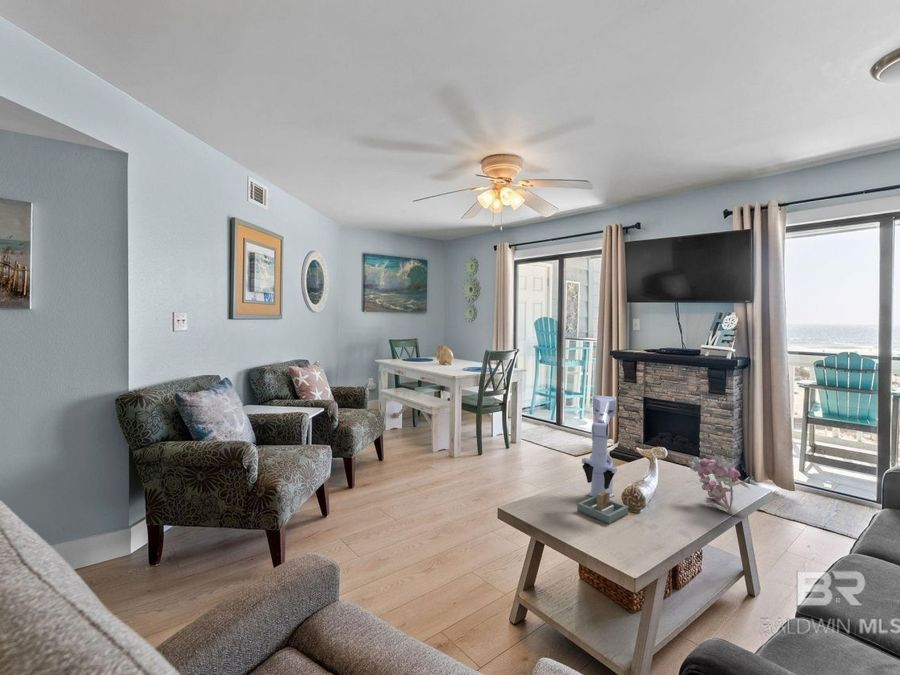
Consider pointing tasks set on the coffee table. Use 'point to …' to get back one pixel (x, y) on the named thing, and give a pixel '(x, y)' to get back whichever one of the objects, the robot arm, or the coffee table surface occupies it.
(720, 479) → the flower
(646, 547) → the coffee table surface
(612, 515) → the slotted divider tray
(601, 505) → the wood block
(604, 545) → the coffee table surface
